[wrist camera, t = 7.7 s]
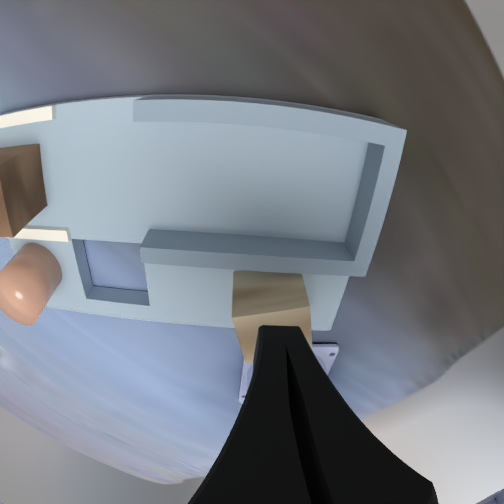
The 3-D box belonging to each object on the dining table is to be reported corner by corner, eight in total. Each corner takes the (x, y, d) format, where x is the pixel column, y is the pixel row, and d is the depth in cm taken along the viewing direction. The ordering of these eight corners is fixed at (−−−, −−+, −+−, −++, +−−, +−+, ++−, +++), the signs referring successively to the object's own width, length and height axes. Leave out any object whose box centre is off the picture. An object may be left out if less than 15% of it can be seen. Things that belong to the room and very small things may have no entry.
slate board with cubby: (326, 316, 23) (335, 350, 20) (38, 292, 22) (20, 320, 19) (378, 118, 15) (406, 130, 13) (1, 113, 14) (-33, 126, 11)
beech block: (302, 309, 21) (312, 354, 17) (244, 317, 21) (245, 364, 18) (298, 261, 19) (310, 306, 15) (233, 271, 19) (231, 317, 16)
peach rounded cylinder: (67, 291, 20) (45, 329, 16) (28, 285, 19) (4, 319, 16) (54, 244, 18) (25, 280, 14) (13, 241, 17) (-17, 273, 14)
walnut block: (47, 205, 16) (13, 238, 13) (5, 204, 16) (-30, 234, 12) (39, 143, 14) (-2, 165, 11) (-4, 148, 14) (-44, 170, 10)
